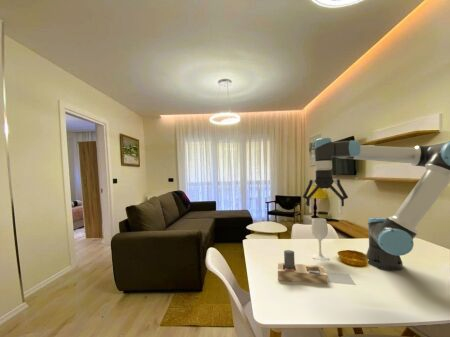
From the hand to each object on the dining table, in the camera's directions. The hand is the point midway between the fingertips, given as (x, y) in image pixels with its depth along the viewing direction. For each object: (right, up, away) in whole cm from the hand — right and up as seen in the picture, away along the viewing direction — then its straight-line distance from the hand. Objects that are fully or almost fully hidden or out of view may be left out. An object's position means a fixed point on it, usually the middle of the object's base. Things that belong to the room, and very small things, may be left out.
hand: (325, 212), depth 108 cm
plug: (-20, -27, -9) cm, 35 cm away
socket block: (-15, -27, -10) cm, 32 cm away
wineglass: (+3, -27, +12) cm, 30 cm away
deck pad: (+1, -26, -12) cm, 29 cm away
